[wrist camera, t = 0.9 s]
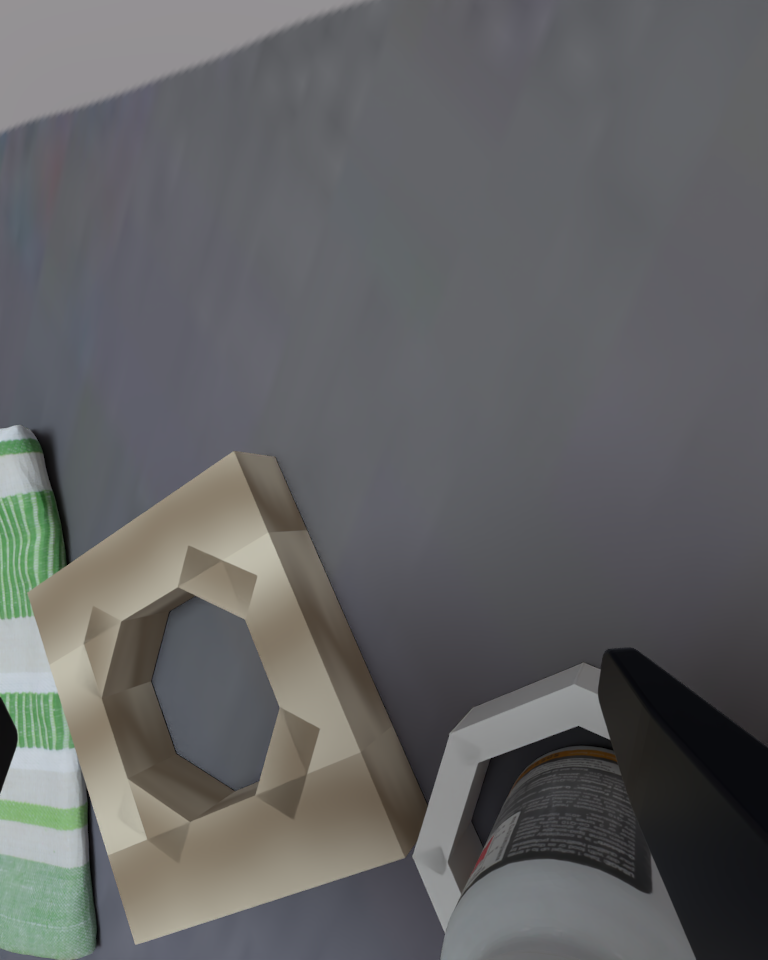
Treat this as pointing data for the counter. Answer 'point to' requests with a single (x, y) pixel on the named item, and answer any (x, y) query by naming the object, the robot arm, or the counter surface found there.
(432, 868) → the octagonal ring
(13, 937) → the dish towel
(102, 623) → the socket plate
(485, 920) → the pill bottle
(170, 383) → the counter surface
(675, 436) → the counter surface
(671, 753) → the robot arm
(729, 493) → the counter surface
